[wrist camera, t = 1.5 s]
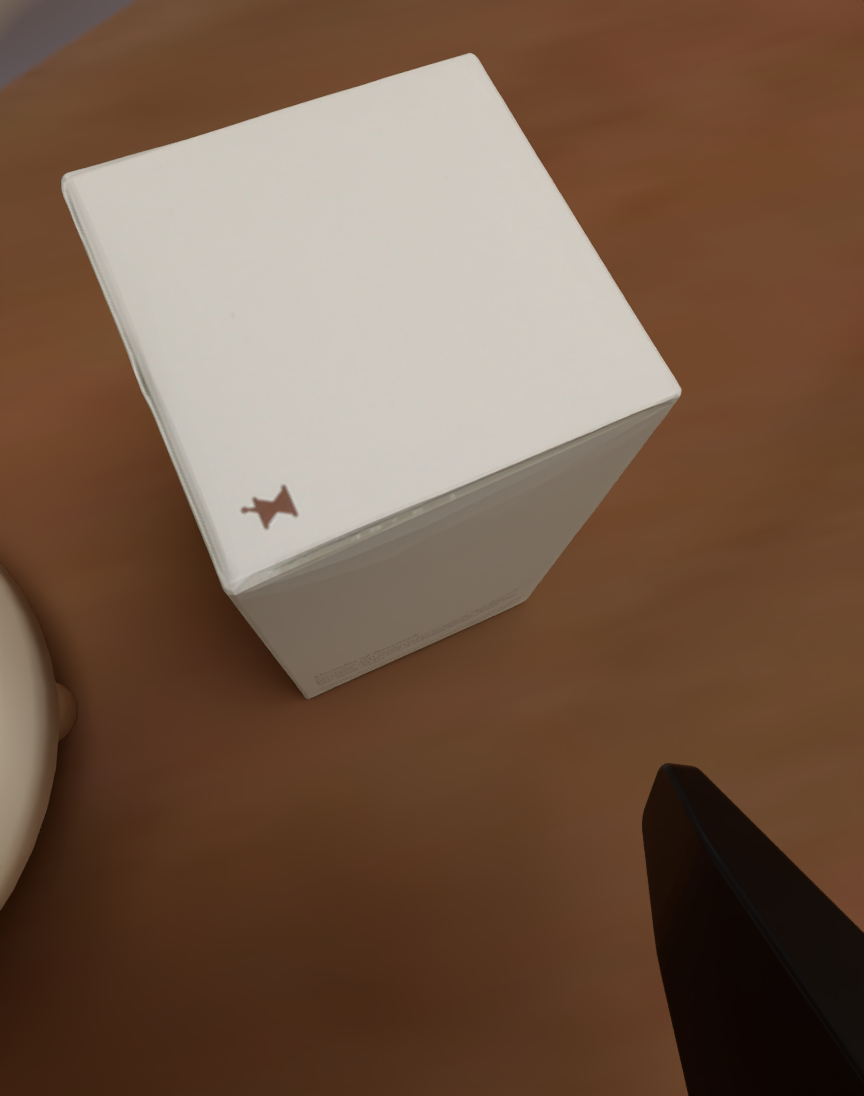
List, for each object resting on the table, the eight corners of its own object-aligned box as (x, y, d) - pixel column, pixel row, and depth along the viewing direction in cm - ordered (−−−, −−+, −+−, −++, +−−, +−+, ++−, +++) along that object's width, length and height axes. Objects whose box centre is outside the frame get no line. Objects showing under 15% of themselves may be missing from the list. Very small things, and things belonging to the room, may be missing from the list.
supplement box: (534, 603, 23) (705, 405, 11) (302, 705, 22) (209, 609, 10) (432, 398, 25) (484, 36, 13) (212, 482, 23) (38, 163, 11)
